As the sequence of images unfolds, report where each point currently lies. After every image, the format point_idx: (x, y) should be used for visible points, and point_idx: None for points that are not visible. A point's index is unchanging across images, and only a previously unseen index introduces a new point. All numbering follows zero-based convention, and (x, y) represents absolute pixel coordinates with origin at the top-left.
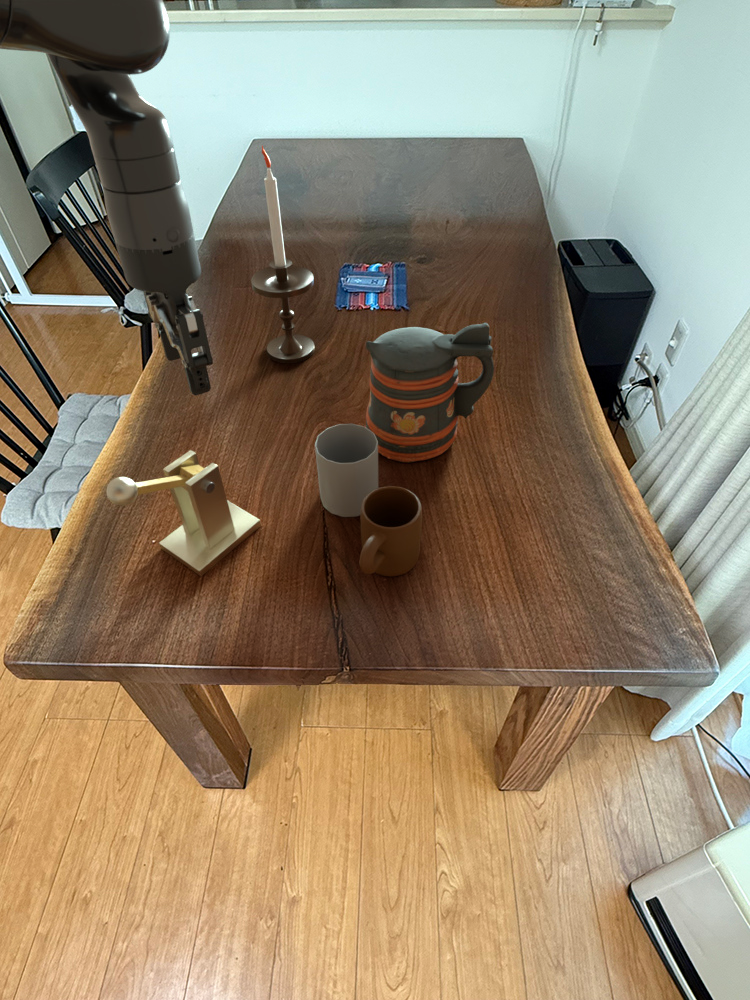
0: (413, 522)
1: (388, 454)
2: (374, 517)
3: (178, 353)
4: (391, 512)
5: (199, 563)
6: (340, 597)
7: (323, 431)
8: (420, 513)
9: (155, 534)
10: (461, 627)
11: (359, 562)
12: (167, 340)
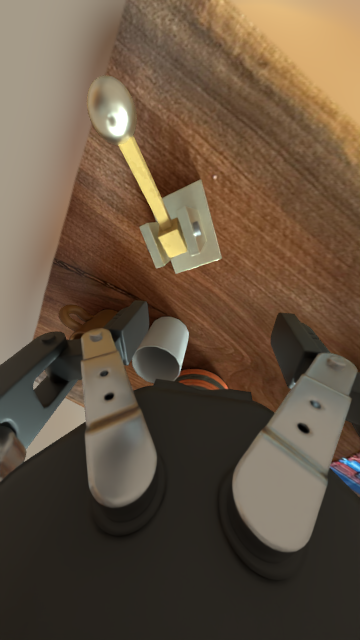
0: None
1: (184, 371)
2: None
3: (275, 337)
4: None
5: None
6: (96, 283)
7: (178, 362)
8: None
9: (222, 182)
10: (59, 321)
11: (67, 307)
12: (291, 346)
